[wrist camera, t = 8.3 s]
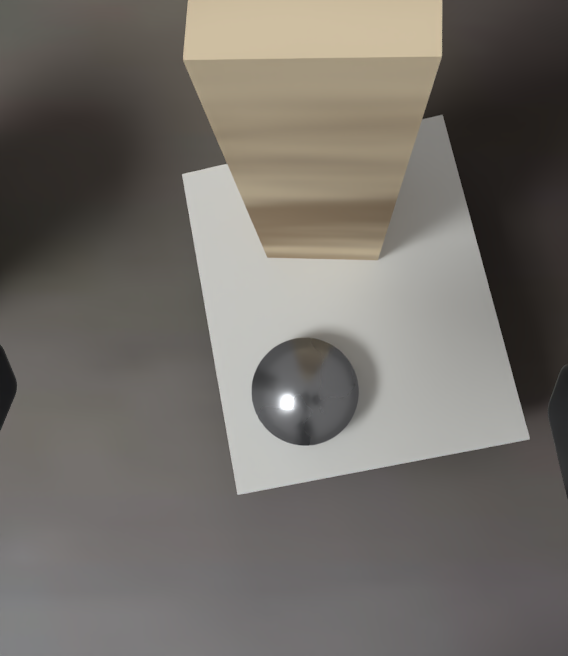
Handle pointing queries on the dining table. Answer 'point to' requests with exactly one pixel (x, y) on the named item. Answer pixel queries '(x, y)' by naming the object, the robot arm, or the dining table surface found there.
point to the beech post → (315, 111)
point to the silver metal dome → (305, 391)
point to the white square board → (361, 327)
